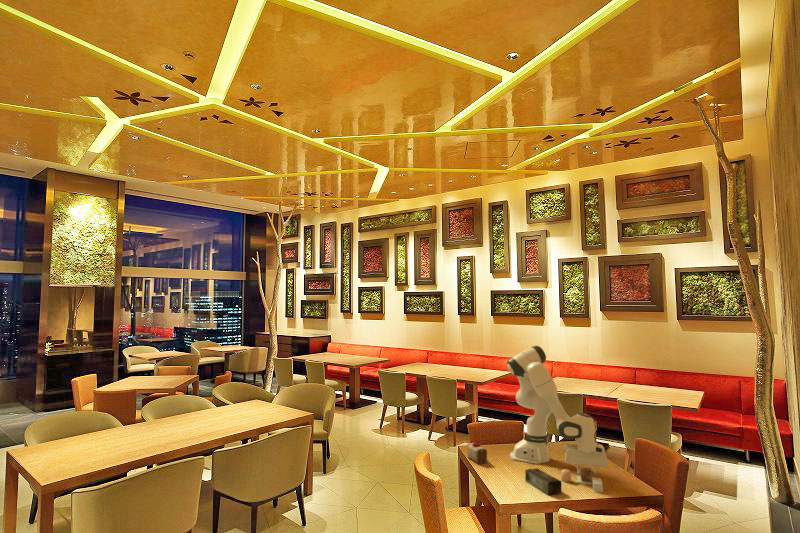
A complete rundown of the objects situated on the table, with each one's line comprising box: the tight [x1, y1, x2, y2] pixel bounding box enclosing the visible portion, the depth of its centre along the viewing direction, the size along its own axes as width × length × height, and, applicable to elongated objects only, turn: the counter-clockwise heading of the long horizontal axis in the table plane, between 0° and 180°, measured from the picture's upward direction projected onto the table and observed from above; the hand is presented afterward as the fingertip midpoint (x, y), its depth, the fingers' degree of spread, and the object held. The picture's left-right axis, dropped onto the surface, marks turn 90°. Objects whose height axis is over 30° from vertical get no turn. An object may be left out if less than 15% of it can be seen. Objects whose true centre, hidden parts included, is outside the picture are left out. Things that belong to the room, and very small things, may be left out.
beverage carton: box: [524, 468, 562, 496], centre depth 223 cm, size 8×19×7 cm, turn 19°
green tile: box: [575, 475, 595, 486], centre depth 231 cm, size 9×9×1 cm
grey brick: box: [591, 477, 604, 493], centre depth 221 cm, size 8×4×4 cm, turn 163°
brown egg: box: [561, 468, 572, 484], centre depth 231 cm, size 4×4×5 cm
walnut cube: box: [579, 466, 593, 482], centre depth 231 cm, size 5×5×5 cm
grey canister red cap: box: [466, 442, 488, 465], centre depth 260 cm, size 14×8×10 cm, turn 21°
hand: (586, 473), depth 231 cm, fingers open, 6 cm apart
